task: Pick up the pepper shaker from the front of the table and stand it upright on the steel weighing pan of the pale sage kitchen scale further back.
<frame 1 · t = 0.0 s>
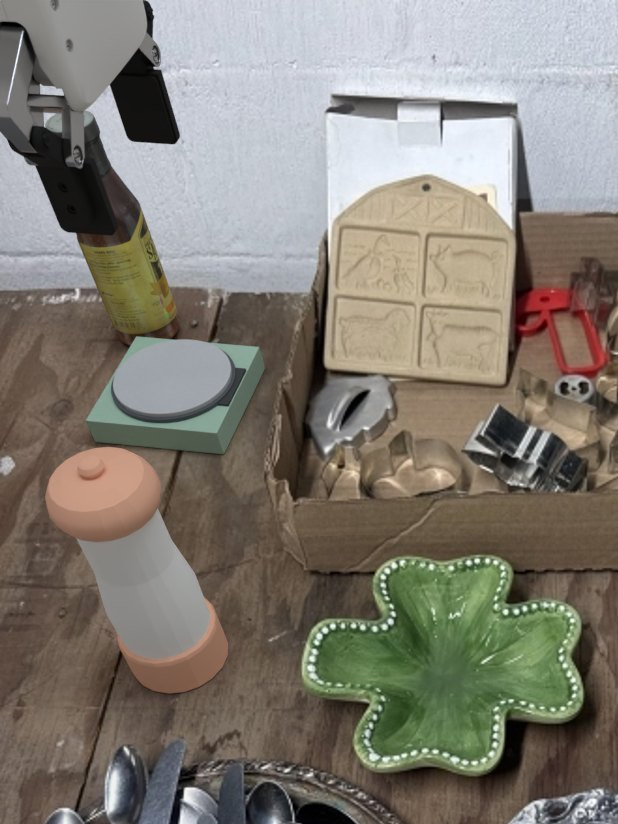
hand: (124, 184, 62), 31 cm above the table, tool pointing down, fingers open, 9 cm apart
scale: (182, 404, 98), on the table
pepper shaker: (181, 656, 81), on the table
sauce bottle: (150, 333, 104), on the table
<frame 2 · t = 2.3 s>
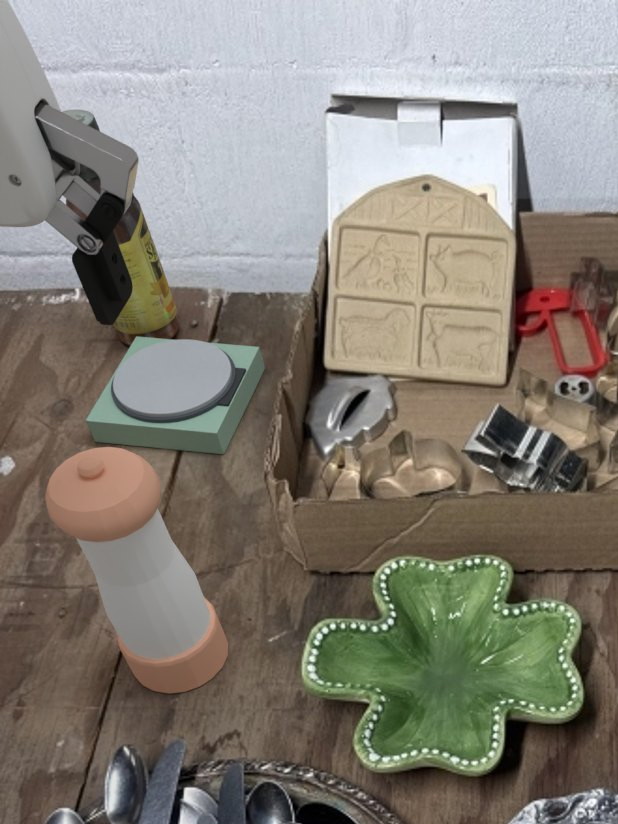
hand: (31, 303, 57), 29 cm above the table, tool pointing down, fingers open, 9 cm apart
nothing on the table moved.
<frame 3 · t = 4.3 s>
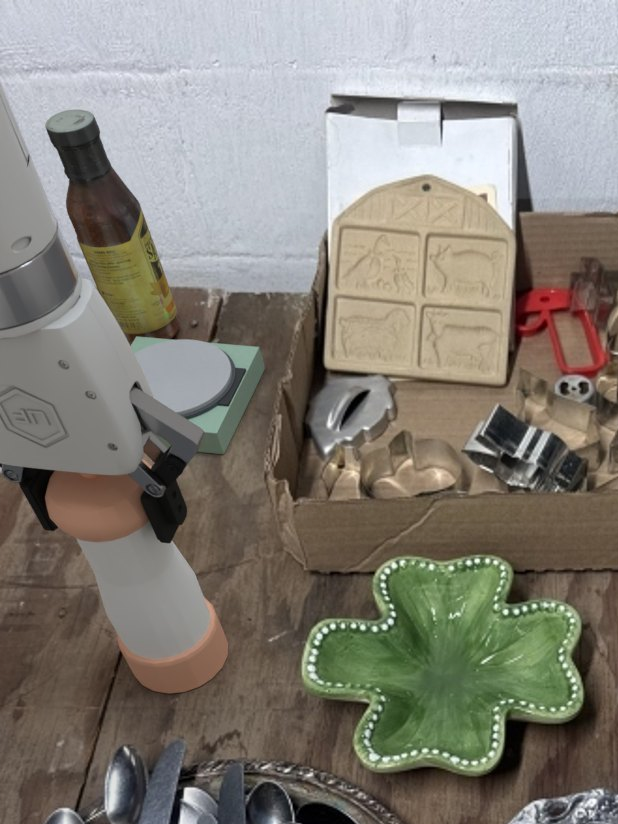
hand: (115, 520, 69), 14 cm above the table, tool pointing down, fingers closed on pepper shaker, 7 cm apart
pepper shaker: (181, 656, 81), on the table, touching gripper
everything else where it was.
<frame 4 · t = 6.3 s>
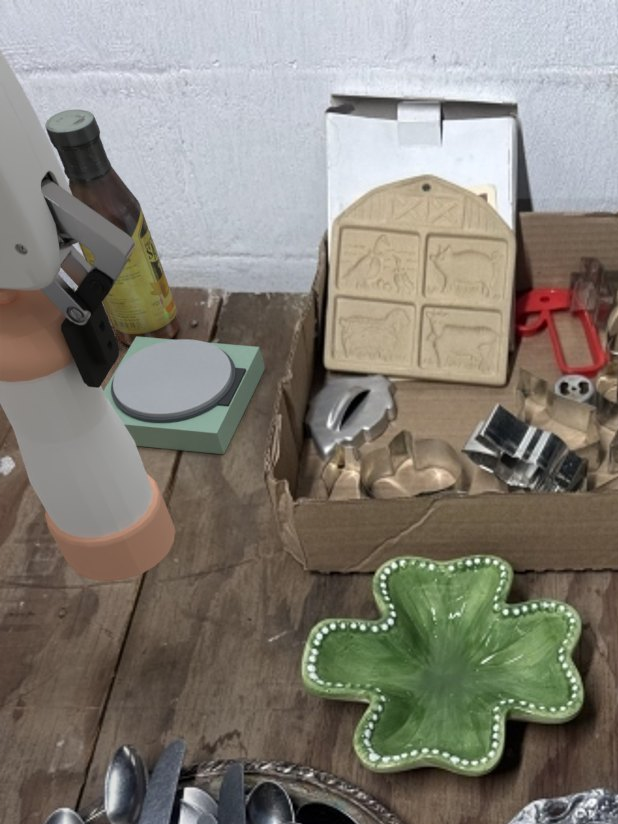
hand: (36, 362, 60), 26 cm above the table, tool pointing down, fingers closed on pepper shaker, 7 cm apart
pepper shaker: (121, 543, 72), point 12 cm above the table, touching gripper
everything else where it was.
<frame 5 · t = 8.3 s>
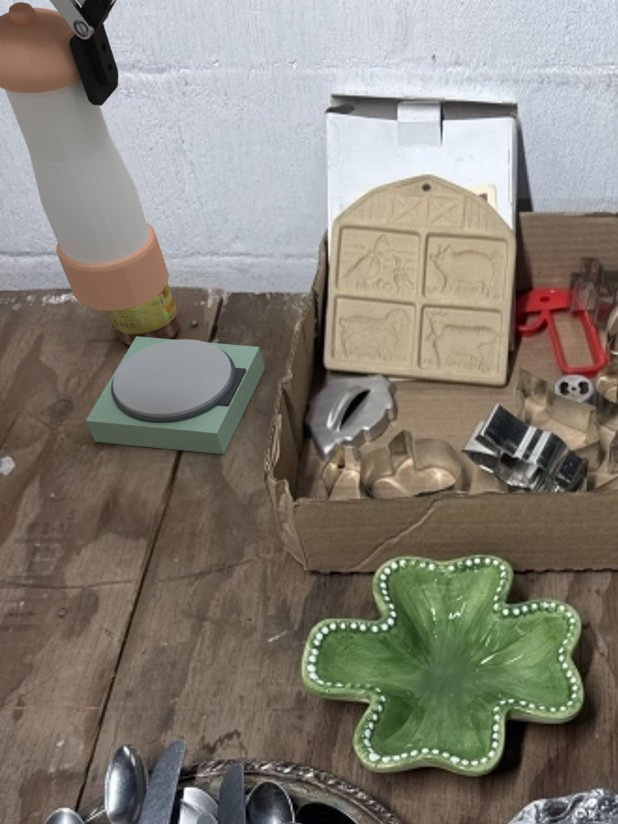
hand: (49, 89, 71), 30 cm above the table, tool pointing down, fingers closed on pepper shaker, 7 cm apart
pepper shaker: (122, 285, 83), point 15 cm above the table, touching gripper
everything else where it was.
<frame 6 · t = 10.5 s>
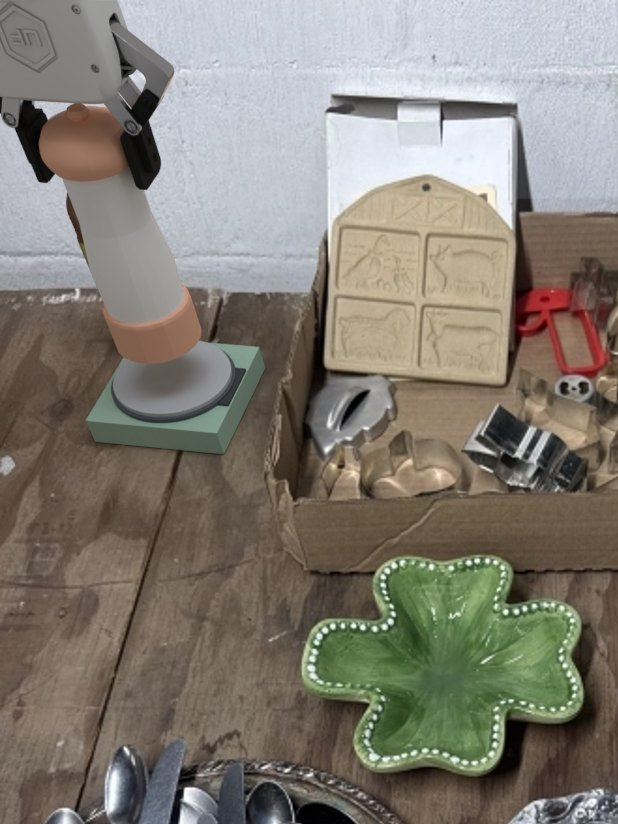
hand: (99, 175, 80), 21 cm above the table, tool pointing down, fingers closed on pepper shaker, 7 cm apart
pepper shaker: (159, 339, 92), point 7 cm above the table, touching gripper
everything else where it was.
when the fingers open (17 cm above the table, at t = 12.1 s): pepper shaker stays where it is, resting on scale.
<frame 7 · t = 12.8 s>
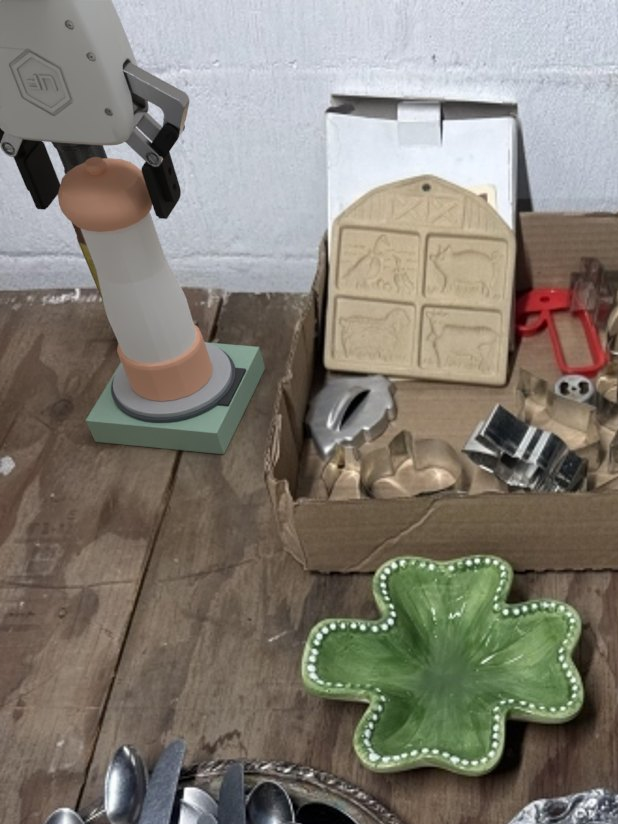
hand: (109, 204, 82), 19 cm above the table, tool pointing down, fingers open, 9 cm apart
pepper shaker: (172, 376, 95), point 3 cm above the table, touching scale
everything else where it was.
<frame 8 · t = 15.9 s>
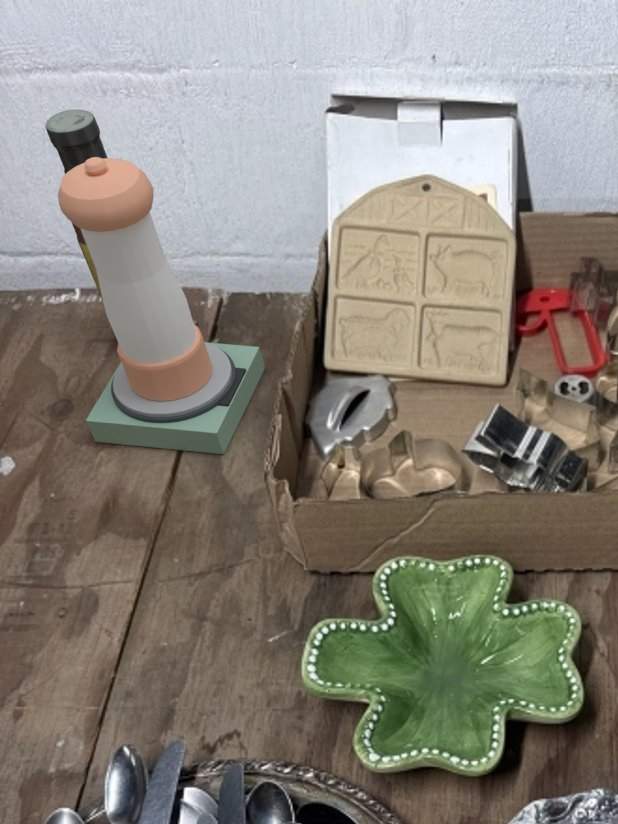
nothing on the table moved.
at the end: pepper shaker inside the target area on the scale (0.1 cm from its centre), point 3.0 cm above the scale's base; pepper shaker tilted 0°; the gripper is holding nothing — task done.
